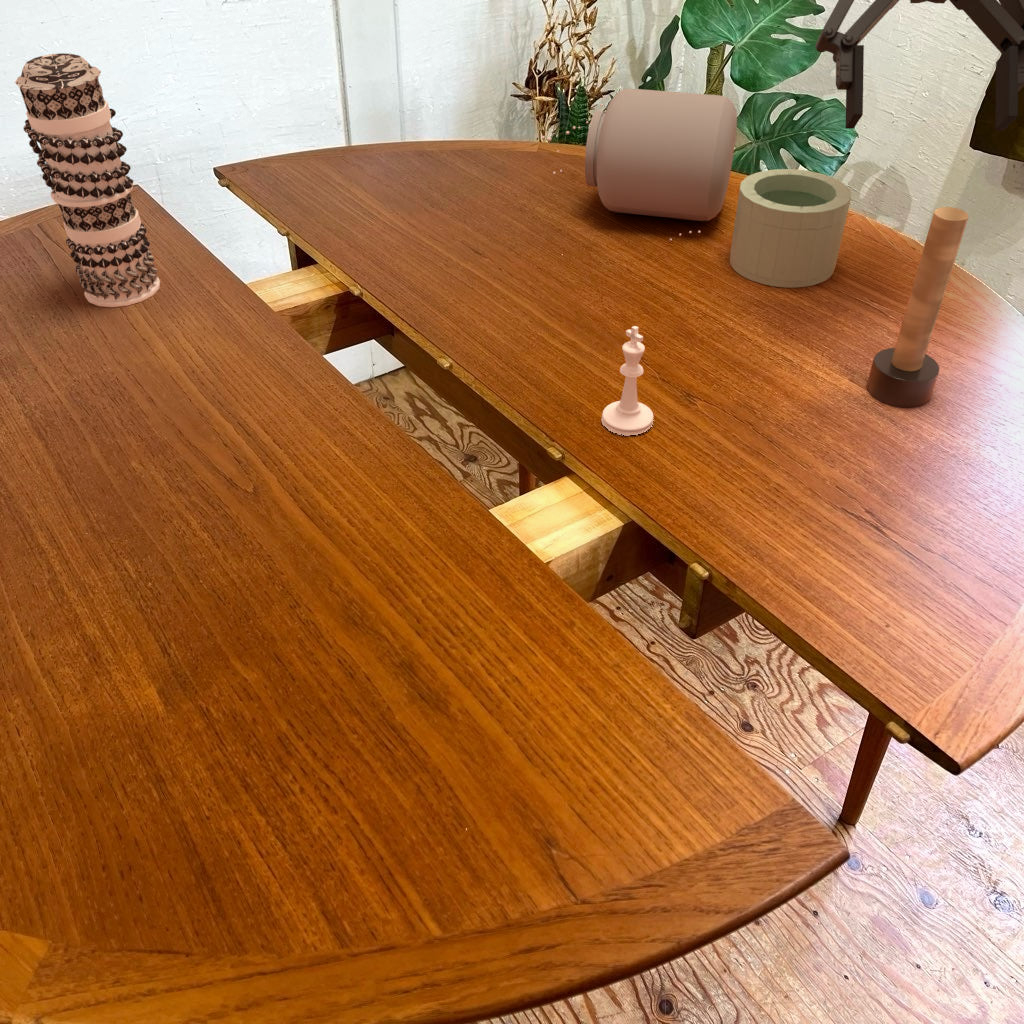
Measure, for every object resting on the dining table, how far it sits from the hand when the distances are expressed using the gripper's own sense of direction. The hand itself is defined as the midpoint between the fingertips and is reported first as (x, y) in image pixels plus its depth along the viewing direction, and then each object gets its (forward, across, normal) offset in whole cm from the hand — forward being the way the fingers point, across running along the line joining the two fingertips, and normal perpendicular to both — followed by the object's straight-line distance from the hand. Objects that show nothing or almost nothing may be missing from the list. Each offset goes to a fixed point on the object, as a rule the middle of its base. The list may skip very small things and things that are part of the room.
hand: (929, 123), depth 88 cm
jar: (-5, +25, -36) cm, 45 cm away
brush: (+23, 0, -8) cm, 24 cm away
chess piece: (+28, +26, -3) cm, 38 cm away
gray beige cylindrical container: (+4, +7, -27) cm, 28 cm away
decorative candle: (+12, +84, -20) cm, 87 cm away
